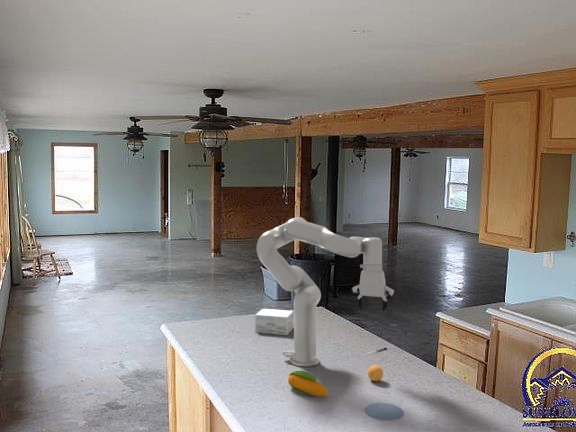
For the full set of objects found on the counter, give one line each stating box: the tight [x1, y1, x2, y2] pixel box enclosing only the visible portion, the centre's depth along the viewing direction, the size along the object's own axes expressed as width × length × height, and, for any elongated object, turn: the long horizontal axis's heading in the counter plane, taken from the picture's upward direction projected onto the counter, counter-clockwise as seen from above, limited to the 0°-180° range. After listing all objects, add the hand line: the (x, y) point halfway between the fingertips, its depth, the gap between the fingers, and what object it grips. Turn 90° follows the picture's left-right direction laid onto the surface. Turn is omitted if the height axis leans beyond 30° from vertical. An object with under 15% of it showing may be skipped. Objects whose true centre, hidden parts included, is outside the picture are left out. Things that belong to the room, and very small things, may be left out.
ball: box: [367, 364, 384, 382], centre depth 213 cm, size 6×6×6 cm
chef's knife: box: [361, 347, 388, 357], centre depth 247 cm, size 19×1×3 cm
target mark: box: [364, 402, 404, 421], centre depth 187 cm, size 13×13×1 cm
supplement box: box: [254, 308, 294, 336], centre depth 277 cm, size 17×13×9 cm
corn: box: [287, 370, 329, 398], centre depth 200 cm, size 7×8×20 cm
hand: (372, 309), depth 224 cm, fingers open, 9 cm apart
